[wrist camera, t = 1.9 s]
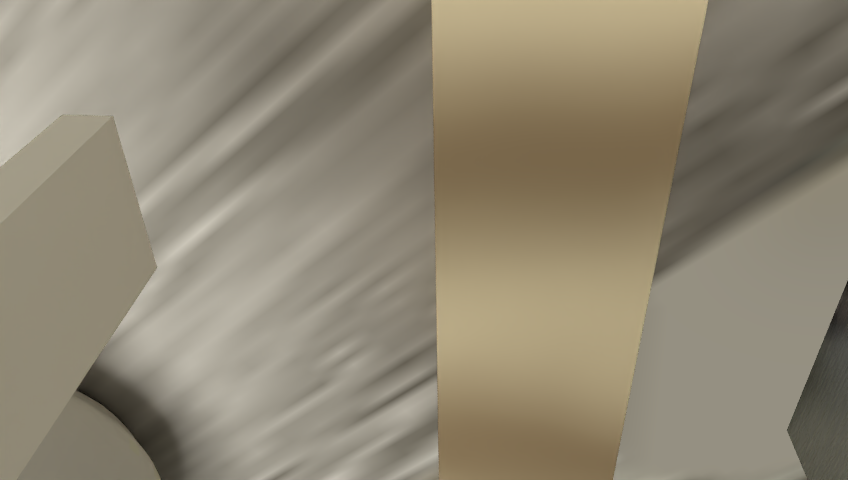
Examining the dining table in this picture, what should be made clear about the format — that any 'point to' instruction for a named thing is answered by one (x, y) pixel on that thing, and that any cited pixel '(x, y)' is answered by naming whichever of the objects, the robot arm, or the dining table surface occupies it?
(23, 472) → the teacup
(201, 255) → the dining table surface
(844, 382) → the grey u-channel bracket
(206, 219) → the dining table surface
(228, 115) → the dining table surface
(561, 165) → the tan long bar
